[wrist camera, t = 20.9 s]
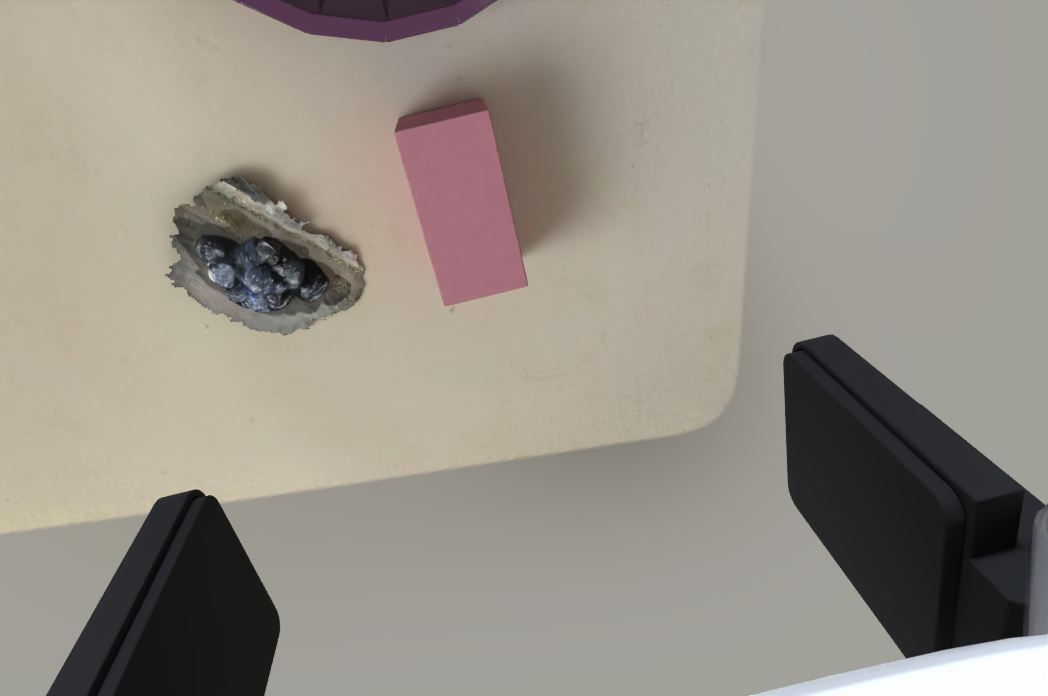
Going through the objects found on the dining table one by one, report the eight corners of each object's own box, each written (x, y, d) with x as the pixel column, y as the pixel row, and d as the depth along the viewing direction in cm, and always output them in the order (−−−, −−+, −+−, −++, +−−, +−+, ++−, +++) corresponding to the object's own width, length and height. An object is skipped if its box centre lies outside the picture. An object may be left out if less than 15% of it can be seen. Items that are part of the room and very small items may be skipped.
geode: (183, 156, 27) (166, 166, 25) (382, 210, 29) (379, 223, 27) (166, 307, 30) (150, 325, 28) (350, 348, 32) (345, 367, 30)
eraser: (398, 118, 27) (393, 131, 24) (482, 97, 28) (488, 109, 24) (443, 277, 31) (444, 306, 28) (519, 258, 31) (528, 286, 28)
